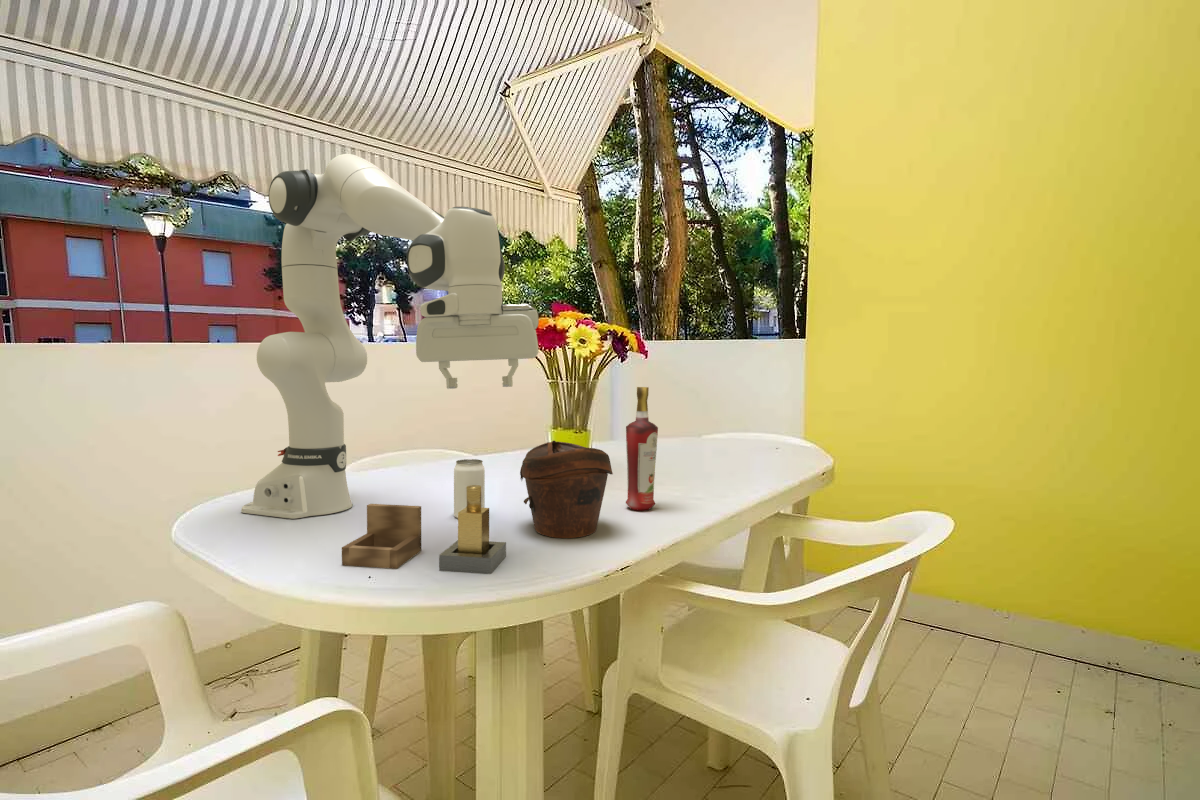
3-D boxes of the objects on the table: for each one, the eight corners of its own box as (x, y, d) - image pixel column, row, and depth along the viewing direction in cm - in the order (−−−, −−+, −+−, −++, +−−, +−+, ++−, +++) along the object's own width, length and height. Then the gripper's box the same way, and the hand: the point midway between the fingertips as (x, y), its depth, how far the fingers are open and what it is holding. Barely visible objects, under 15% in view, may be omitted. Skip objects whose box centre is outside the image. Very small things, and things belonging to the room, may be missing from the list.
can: (488, 513, 136) (488, 459, 136) (479, 520, 130) (479, 464, 129) (459, 512, 137) (459, 458, 136) (449, 519, 131) (449, 463, 130)
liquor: (638, 503, 148) (640, 386, 146) (662, 508, 143) (665, 387, 141) (617, 508, 143) (620, 386, 141) (642, 514, 138) (644, 388, 136)
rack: (342, 565, 101) (341, 517, 101) (370, 547, 111) (370, 503, 110) (397, 568, 100) (396, 520, 100) (421, 550, 110) (421, 506, 109)
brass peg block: (458, 566, 102) (458, 488, 101) (466, 558, 106) (466, 483, 105) (481, 568, 101) (481, 489, 100) (489, 560, 105) (489, 484, 104)
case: (549, 512, 138) (549, 432, 136) (629, 526, 128) (630, 440, 126) (497, 532, 122) (497, 442, 121) (583, 550, 112) (584, 452, 111)
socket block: (439, 570, 100) (439, 555, 100) (458, 553, 108) (458, 539, 108) (490, 573, 99) (490, 558, 98) (506, 556, 107) (506, 542, 107)
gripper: (539, 304, 107) (543, 384, 108) (421, 308, 107) (426, 388, 108) (535, 301, 101) (539, 386, 102) (410, 306, 101) (415, 390, 102)
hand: (479, 387), depth 105 cm, fingers open, 8 cm apart
